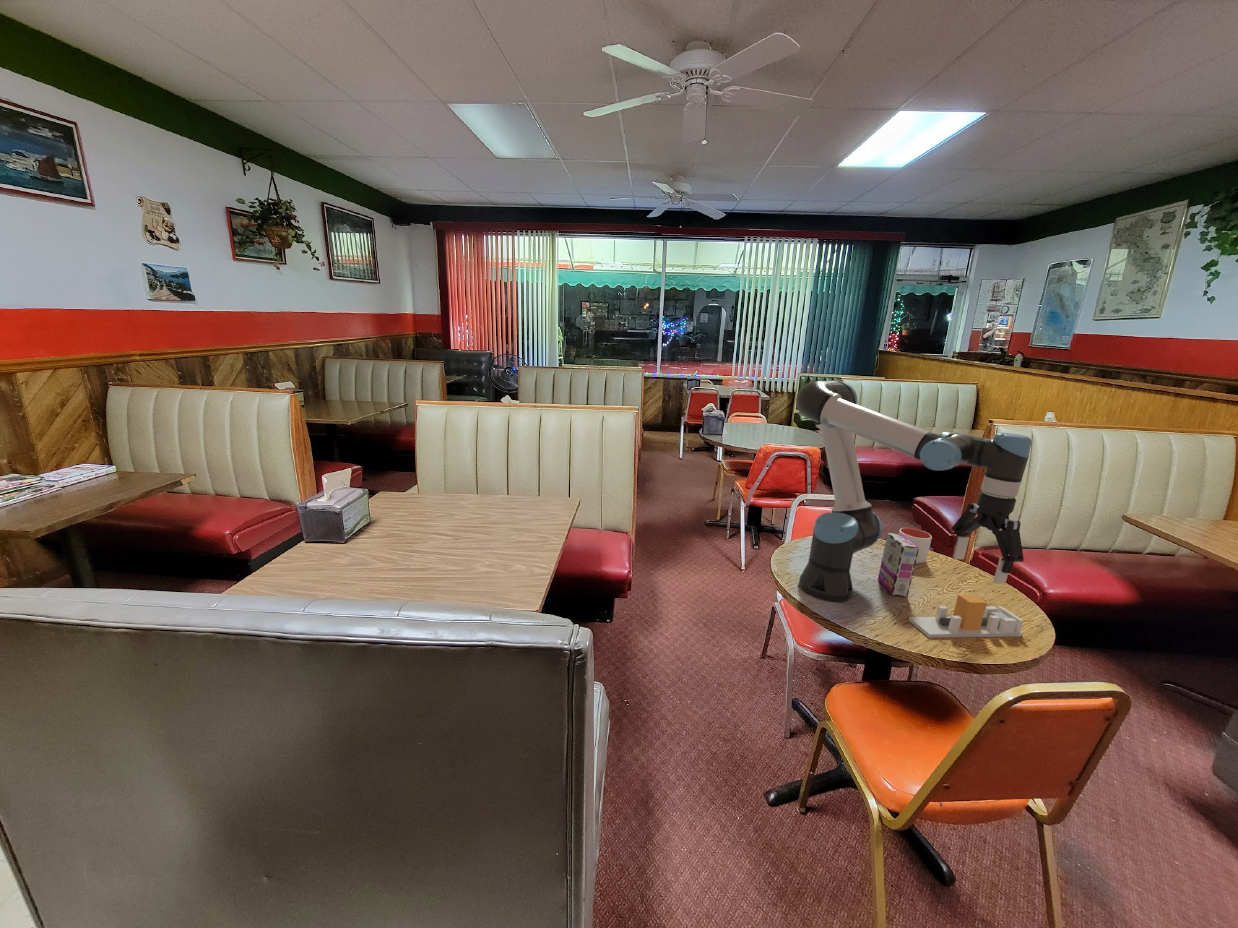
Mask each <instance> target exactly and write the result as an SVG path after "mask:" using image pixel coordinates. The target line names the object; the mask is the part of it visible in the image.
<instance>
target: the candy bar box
mask: <svg viewBox="0 0 1238 928" xmlns="http://www.w3.org/2000/svg"><path fill="white" fill-rule="evenodd" d="M918 551H919V547H917V546H916V545H915V544H914V543H912V542H911V541H910V540H909V539H908V538H906V537H905V536H904V535H903V534H899V533H892V532H887V535H886V539H885V544H884V549H883V554H882V557H881V558H882V559H881V563H880V568H879V572H878V577H877V579H878V581H879V582H880V584H882V585H883V587H884V588H885V589H886V590H887V591H888V592H889V594H891V596H894V597H904V598H908V597H909V593H910V588H911V584H912V580H913V579H912V578H913V577H914V571H915V567H916V564H915V563H916V559H917V555H918Z"/></svg>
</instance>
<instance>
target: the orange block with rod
mask: <svg viewBox="0 0 1238 928" xmlns="http://www.w3.org/2000/svg"><path fill="white" fill-rule="evenodd" d="M987 605H988V602H987V601H986V600H984V599H983V598H981V597H979V596H978V595H976V594H957V598H956V602H955V607H954V610H953V614H952V616H959V617H961V618H962V620H961V624H960V628H962V629H980V627H981V625H987V622H988V619H989V618H983V616H984V612H985V609H986V607H987ZM990 616H998V617H999V618H1000V620H999V623H998V627H997V628H999V627H1000V624H1001V620H1002V618H1009V617H1008V616H1006V615H1004V614H1003V613H1001V612H990ZM950 620H951V618H941V619H940V623H941V625H942V626H949V623H950Z"/></svg>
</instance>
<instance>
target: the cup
mask: <svg viewBox="0 0 1238 928" xmlns="http://www.w3.org/2000/svg"><path fill="white" fill-rule="evenodd" d="M898 531H899V532H898V534H903V535H904V536H905V537H906V538H908V539H909V540H910V541H911V542H912V543H914V544H915V545H916V546H917V547H919V551H918V555H917V559H916V563H915V565H916V564H917V565H918V564H924V563H926V562H927V560H928V556H929V552H930V551H929V550H930V546H931V542H932V539H933V537H932V535H931V534H930V533H929V532H926V531H924V530H920V529H919V528H918V529H917V528H911V527H901V528H900V529H899V530H898Z"/></svg>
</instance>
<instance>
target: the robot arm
mask: <svg viewBox="0 0 1238 928" xmlns="http://www.w3.org/2000/svg"><path fill="white" fill-rule="evenodd" d="M795 405H796V409H797V411H798V412H799V414H801V415H802V416H803V417H805V418H806V419H808V420H811V421H813V422H814V424H815V427H816V428H818V429H819V430H820V431H821V434H822V440H823V444H824V449H825V454H826V459H827V467H828V471H829V475H830V476H829V477H830V481H831V486H832V491H833V498H834V503H835V504H834V505H833V507H832V508H831V512H824V513H821V514H820V515H819V516H818V517H817V518H816V519H815V523H814V526H813V529H812V530H813V531H812V538H811V543H810V544H811V545H810V550H809V558H808V562H807V564H806V566H805V567H804V569H803V570H802V573H801V575H800V576H799V581H798V586H799V588H800V589H801V590H802V591H803V592H804V593H806V594H807V595H809V596H811V597H813V598H816V599H818V600H821V601H827V602H834V603H841V602H846V601H849V600H850V599H851V598H852V596H853V590H854V588H853V583H852V577H851V571H850V570H851V565H852V560H853V555H854V554H855V553H857V552H860V551H861V550H864V549H867V548H870V547H871V546H873V545H874V544H875V543H876V542H878V540H879V539H880V538H881V536H882V533H883V525H882V521H881V519H880V517H879V516H878V515H877V514H876V513H875V512H874V510H873V506H872V504H871V503H870V502H869V501H867V500H866V497H865V492H864V489H863V488H864V487H863V483H862V477H861V471H860V467H859V462H858V457H857V452H856V446H855V441H854V436H853V434H855V435H857V436H859V437H862V438H865V439H867V440H869V441H872V442H875V443H877V444H879V445H882V446H884V447H886V448H889V449H891V450H894V451H895V452H899V453H900V454H903V455H905V456H909V457H912V458H913V459H915V460H918V461H921V463H922V464H923V465H924V467H926V468H927V469H929V470H932V471H938V472H939V471H947V470H951V469H953V468H954V467H958V466H960V465H969V466H974V467H978V468H985V471H984V475H983V480H982V483H981V486H980V491H981V492H979V494H978V498H977V503H968V504H967V507H966V510H965V511H964V512H963V513H962V514H961V516H960V517H959V518H958V519H957V520H956V522H955V523H954V524H953V525H952V527H951V530H952V532H953V531H954V532H955V534H956V538H955V542H954V545H955V549H954V552H953V556H952V559H953V560H965V557H966V553H967V549H968V544H969V541H970V537H969V536H970V534H972V533H973V532H975V531H976V530H978V529H979V528H981V527H982V528H986V529H987V530H989V531H991V533H992V534H993V535H994V536H995V540H996V542H997V545H998V548H999V550H1000V554H1001V555H1002V556H1001V557H1002V558H1001V557H1000V558H999V559H998V563H997V566H996V570H995V574H994V577H993V580H992V583H993V584H1001V585H1005V584H1006V582H1007V579H1008V575H1009V574H1011V572H1012V571H1013V566H1014V563H1022V562H1024V561H1025V560H1024V553H1023V546H1022V541H1021V540H1022V538H1021V533H1020V531H1021V521H1020V520H1012V519H1010V514H1012V513H1013V512H1014V510H1015V506H1016V503H1017V498H1016V497H1017V496H1018V494H1019V491H1020V487H1021V485H1022V480H1023V476H1024V473H1025V470H1026V467H1027V463H1028V460H1029V458H1030V451H1031V446H1032V439H1031V438H1030V437H1029V436H1027V435H1025V434H1024V435H1023V434H1019V433H1012V432H1011V433H1010V432H997V433H995V434H994V436H993V437H992V438H985V437H980V436H974V435H969V434H963V433H959V432H950V431H949V432H948V431H944V432H941V433H940V434H937V433H934V432H932V431H930V430H927V429H924V428H921V427H918V426H915V425H914V424H911V423H907V422H905V421H902V420H899V419H896V418H895V417H894V418H893V417H891V416H888V415H885V414H883V413H880V412H878V411H874V410H872V409H869V408H867V407H865V406H861V405H858V395H857V392H856V391H855V389H854V387H852V385H851V384H849V383H847V382H845V381H841V380H837V379H836V380H835V379H833V380H815V381H809V382H807V383H806V384H804V385H802V387H801V388H800V389H799V390H798V392H797V394H796V397H795Z"/></svg>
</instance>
